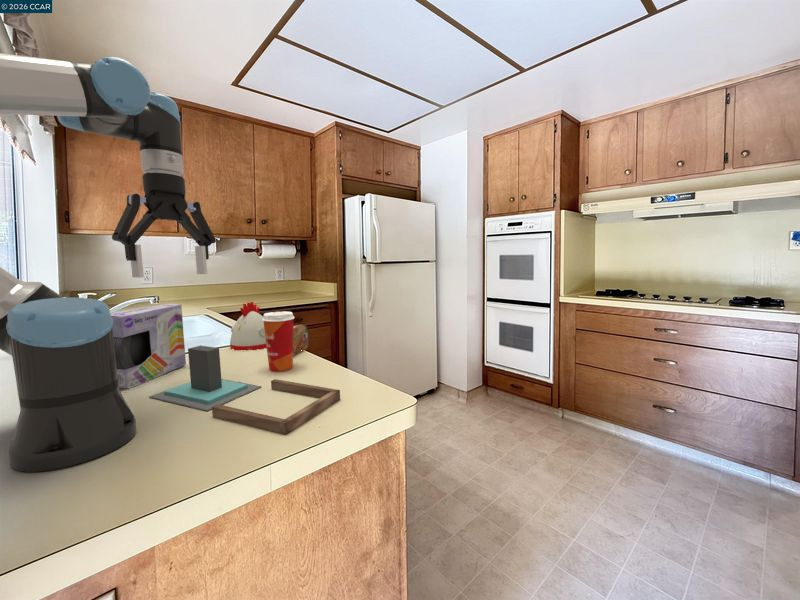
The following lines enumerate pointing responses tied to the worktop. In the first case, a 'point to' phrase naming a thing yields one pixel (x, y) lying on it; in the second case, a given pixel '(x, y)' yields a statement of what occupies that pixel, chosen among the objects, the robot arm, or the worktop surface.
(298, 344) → the tin
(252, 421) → the walnut frame
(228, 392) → the cover plate
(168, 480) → the worktop surface
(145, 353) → the cake pan box
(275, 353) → the coffee cup
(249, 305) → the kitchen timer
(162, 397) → the grey mat
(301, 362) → the worktop surface
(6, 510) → the worktop surface
